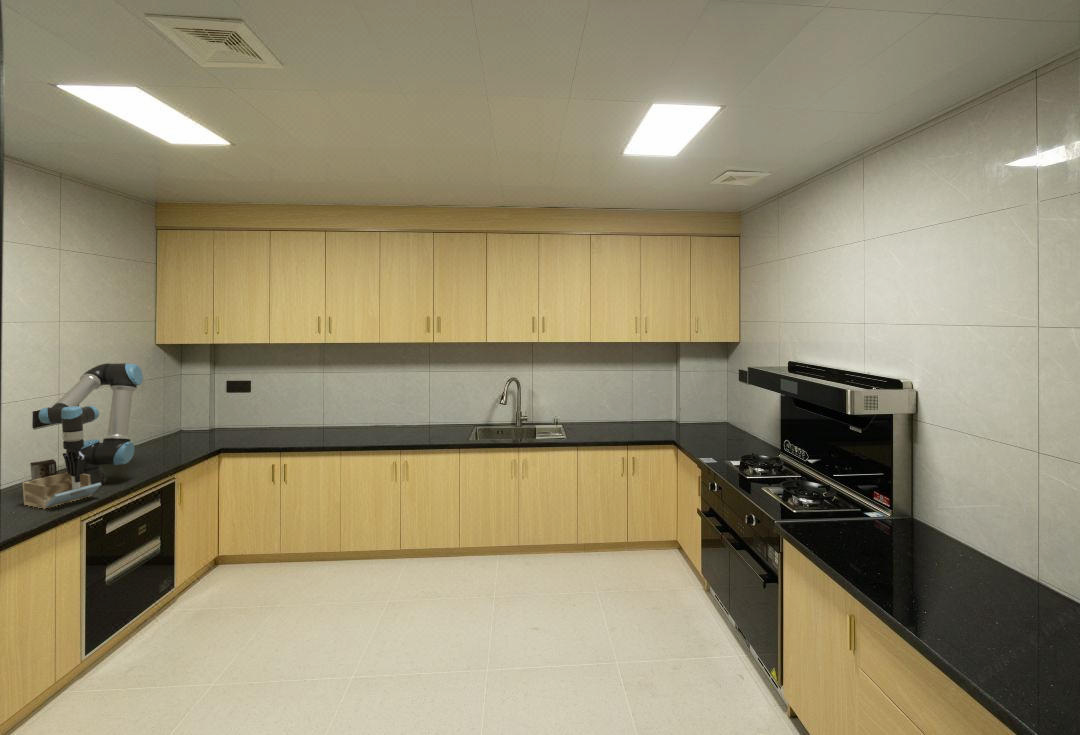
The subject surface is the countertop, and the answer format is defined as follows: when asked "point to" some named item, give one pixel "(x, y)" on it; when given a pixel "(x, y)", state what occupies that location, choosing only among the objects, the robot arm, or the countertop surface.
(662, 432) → the countertop surface
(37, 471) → the coffee box
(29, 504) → the crate
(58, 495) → the panel
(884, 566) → the countertop surface
